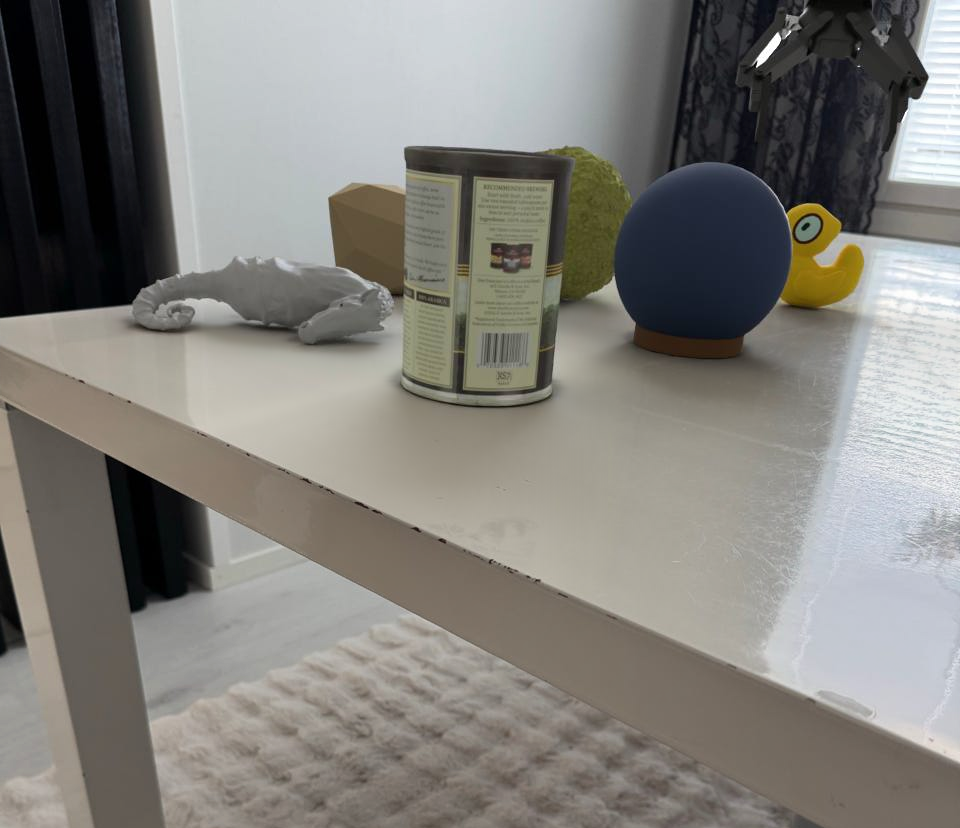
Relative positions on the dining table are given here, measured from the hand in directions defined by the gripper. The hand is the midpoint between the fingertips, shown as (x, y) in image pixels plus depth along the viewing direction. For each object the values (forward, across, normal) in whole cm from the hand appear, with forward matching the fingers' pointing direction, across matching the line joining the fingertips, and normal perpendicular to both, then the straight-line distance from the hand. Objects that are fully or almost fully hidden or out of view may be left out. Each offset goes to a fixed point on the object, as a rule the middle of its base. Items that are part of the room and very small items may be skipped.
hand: (823, 137), depth 104 cm
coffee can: (+53, +26, +30) cm, 67 cm away
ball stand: (+38, +12, +16) cm, 43 cm away
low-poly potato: (+31, +40, +8) cm, 51 cm away
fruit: (+25, +26, +2) cm, 36 cm away
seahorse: (+46, +45, +23) cm, 69 cm away
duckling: (+19, 0, -4) cm, 19 cm away
